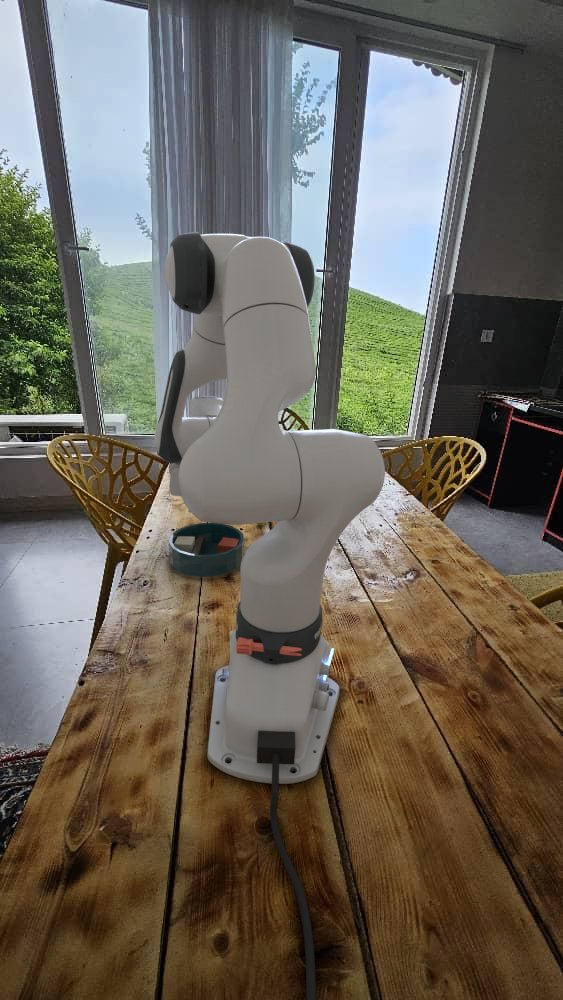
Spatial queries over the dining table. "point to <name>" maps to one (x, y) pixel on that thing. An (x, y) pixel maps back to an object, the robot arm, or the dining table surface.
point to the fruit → (262, 523)
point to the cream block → (185, 543)
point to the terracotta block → (227, 544)
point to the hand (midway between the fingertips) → (210, 513)
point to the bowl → (207, 550)
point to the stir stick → (199, 545)
